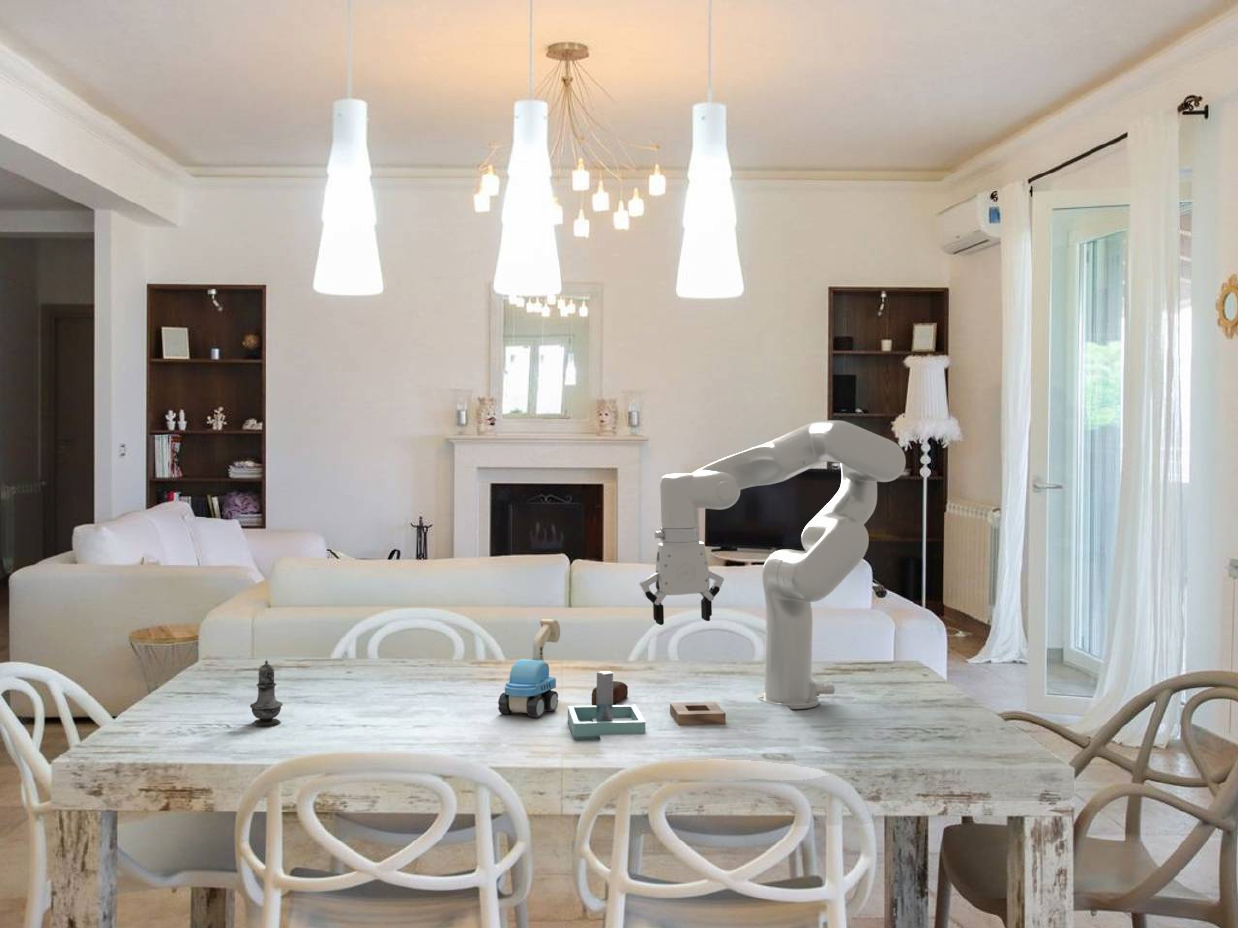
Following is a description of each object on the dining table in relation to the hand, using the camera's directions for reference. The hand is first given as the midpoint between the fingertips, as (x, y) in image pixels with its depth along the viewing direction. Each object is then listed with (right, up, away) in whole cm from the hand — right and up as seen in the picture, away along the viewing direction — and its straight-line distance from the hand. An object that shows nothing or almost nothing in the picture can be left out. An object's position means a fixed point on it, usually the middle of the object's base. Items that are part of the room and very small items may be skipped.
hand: (682, 621), depth 230 cm
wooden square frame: (+2, -18, -9) cm, 20 cm away
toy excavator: (-29, -18, +1) cm, 34 cm away
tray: (-15, -18, -14) cm, 28 cm away
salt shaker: (-79, -18, -13) cm, 82 cm away
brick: (-15, -18, +4) cm, 23 cm away
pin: (-15, -18, -14) cm, 27 cm away
